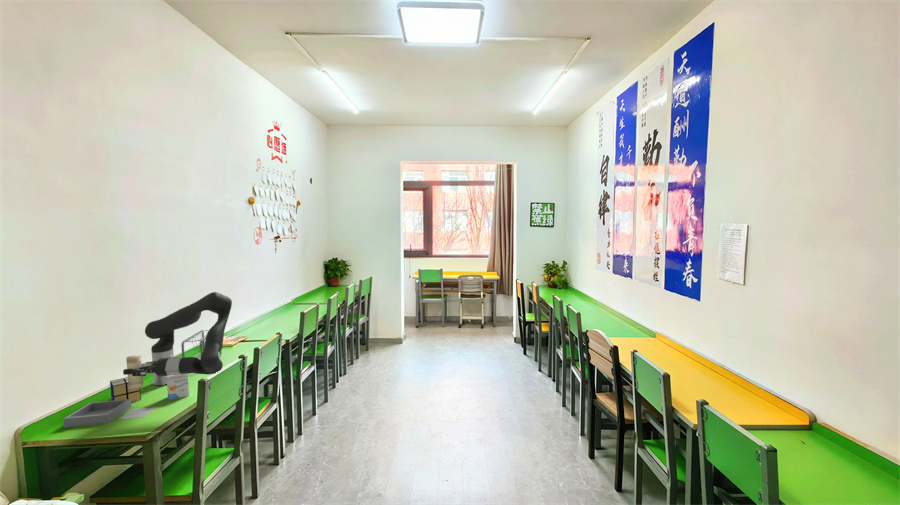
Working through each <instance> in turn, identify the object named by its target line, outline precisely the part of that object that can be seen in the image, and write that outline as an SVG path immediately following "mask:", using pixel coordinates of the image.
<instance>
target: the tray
mask: <svg viewBox="0 0 900 505" xmlns="http://www.w3.org/2000/svg"><path fill="white" fill-rule="evenodd" d="M131 408H132V402H131V399H125V400H113V401H111V400H105V401H93V402H91V401H90V402H89V403H87V404H85V405H84V406H83V407H80V408H79V409H77V410H76V411H74V412H72V413H70V414H69V415H67V416H66V417H64V418H63V419H62V420H63V428H64V429H70V428H73V427H74V428H75V427H82V426H95V425H105V424H106V425H107V424H109V423H110V422H112V421H113V420H115V419H117V418H118V417H119V416H121V415H122V414H123V413H125V412H127V411H128V410H129V409H131Z"/></svg>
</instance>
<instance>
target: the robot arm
mask: <svg viewBox="0 0 900 505" xmlns="http://www.w3.org/2000/svg"><path fill="white" fill-rule="evenodd" d="M232 303H233V302H232V299H231V298H230V296H227V295H224V294H222V293H219V292H217V291H212V292H210V293H208V294H206V295H204V296H203V297H201V298H199V299H198V300H196V301H195V302H193V303H191V304H189V305H186V306H184V307H181V308H179V309H178V310H176V311H173V312H171V313H170V314H167V315H166V316H165V317H163V318H160V319H157V320H152V321H150V322H148V324H146V326H145V329H144V334H145V336H146V337H147V338H149V339H151V340H156V339H157V340H158V341H156V343H155V344H153V345H152V346H151V361H146V362H145V363H143V362H142V366H140V368H134V369H127V368H124V369H123V370H122V372H123V373H122V374H123V375H124V376H128V374H132V376H143V377H147V375H152V374H153V376H152V377H153V385H154V386H156V385H161V386H166V385H165V384H167V376H171V375H179V374H188V375H189V374H198V375H215V374H217V373H219V372H220V371H222V370H223V367H224V364H223V361H222V360H221V359H220V357H218V356H219V352H220V351H221V352H222V350H223V345H224V335H225V329H226V326H227V323H228V320H229V317H230V314H231V309H232V305H233V304H232ZM204 311H209V312H211V313H215V314H217V321H216V322H215V323H214V324H213V325H212V326H211V327H210V328H209V331H207V333H206V334H205V337H206V339H205V340H206V341H204V342H205V348H204V350H203V353H202V355H201V354H200V355H201V359H198V357H196V356H186V357H183V358H182V357H179V356H178V357H176V356H174V355H175V354H174V345H175V331H176V330H178V329H182V328H187V327H189V326H191V325H193V324H195V323H197V322H198V321H199V320H200V318H201V317H202V312H204ZM218 371H219V372H218ZM216 372H217V373H216Z"/></svg>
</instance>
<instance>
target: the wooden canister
mask: <svg viewBox="0 0 900 505" xmlns="http://www.w3.org/2000/svg"><path fill="white" fill-rule="evenodd" d="M142 364H143V362H142V355H141V354H135V355H129V356H127V357H126V369H134V368H140V366H142ZM127 377H128V385H129V388H130V389H133V388H138V387H140V388H141V387H143V386H144V376H132V374H128V375H127Z"/></svg>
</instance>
